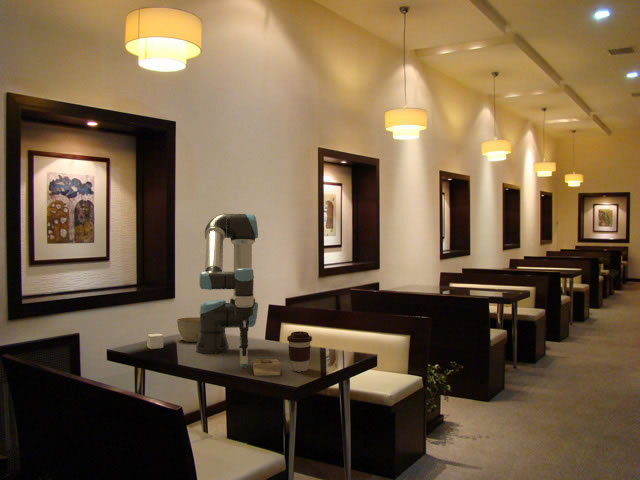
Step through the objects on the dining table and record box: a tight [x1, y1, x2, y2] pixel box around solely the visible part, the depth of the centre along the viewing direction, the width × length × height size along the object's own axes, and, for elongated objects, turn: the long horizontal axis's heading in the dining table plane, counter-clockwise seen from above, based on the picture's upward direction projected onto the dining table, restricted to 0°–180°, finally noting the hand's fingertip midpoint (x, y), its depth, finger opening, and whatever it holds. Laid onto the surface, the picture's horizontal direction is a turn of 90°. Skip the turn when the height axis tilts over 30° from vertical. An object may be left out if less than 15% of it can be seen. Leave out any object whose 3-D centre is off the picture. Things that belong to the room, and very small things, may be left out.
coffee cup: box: [286, 331, 313, 373], centre depth 226 cm, size 10×10×15 cm
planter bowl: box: [176, 316, 200, 343], centre depth 285 cm, size 16×16×11 cm
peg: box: [239, 336, 248, 369], centre depth 230 cm, size 3×3×12 cm
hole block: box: [252, 358, 281, 377], centre depth 222 cm, size 10×10×4 cm
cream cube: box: [146, 333, 164, 350], centre depth 267 cm, size 6×6×6 cm
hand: (243, 361), depth 230 cm, fingers open, 9 cm apart
